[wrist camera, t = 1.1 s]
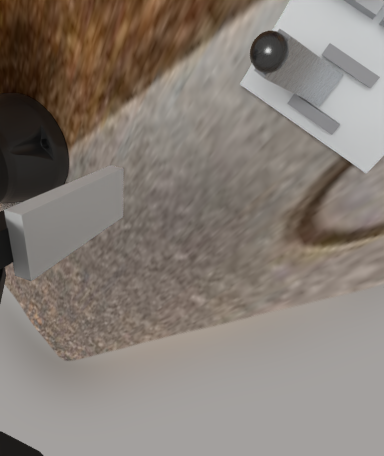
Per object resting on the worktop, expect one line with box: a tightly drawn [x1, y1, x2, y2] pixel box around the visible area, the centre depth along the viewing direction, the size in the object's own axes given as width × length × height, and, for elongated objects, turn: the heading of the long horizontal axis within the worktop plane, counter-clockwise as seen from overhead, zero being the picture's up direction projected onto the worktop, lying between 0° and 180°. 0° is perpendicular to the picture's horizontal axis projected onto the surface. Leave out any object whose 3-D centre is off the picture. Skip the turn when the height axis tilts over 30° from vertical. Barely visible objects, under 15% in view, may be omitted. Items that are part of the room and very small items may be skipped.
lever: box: [250, 29, 343, 106], centre depth 26 cm, size 3×3×11 cm
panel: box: [240, 0, 384, 173], centre depth 27 cm, size 15×18×4 cm
